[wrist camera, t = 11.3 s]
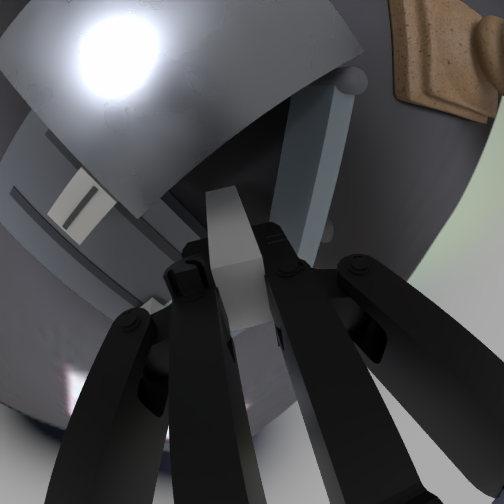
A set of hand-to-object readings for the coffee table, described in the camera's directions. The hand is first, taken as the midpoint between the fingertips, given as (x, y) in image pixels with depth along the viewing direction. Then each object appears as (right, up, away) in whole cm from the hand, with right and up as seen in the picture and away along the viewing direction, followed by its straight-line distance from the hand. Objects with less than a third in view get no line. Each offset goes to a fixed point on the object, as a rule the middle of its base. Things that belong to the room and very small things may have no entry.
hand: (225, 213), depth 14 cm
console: (-8, -1, +4) cm, 9 cm away
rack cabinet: (-3, +9, -2) cm, 10 cm away
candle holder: (+16, +14, -1) cm, 22 cm away
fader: (-7, +2, -1) cm, 7 cm away
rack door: (+4, +4, +2) cm, 7 cm away
